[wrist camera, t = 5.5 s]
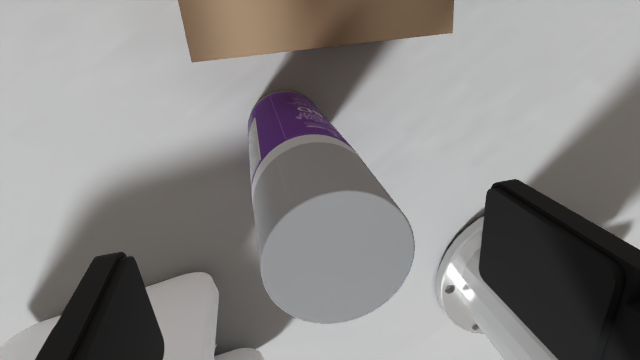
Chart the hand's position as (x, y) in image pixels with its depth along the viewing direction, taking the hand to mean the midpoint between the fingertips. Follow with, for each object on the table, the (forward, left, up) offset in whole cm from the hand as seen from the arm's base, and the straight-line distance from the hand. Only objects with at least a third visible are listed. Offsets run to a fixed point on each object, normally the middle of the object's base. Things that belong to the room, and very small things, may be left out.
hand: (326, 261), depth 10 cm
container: (0, 0, -16) cm, 16 cm away
